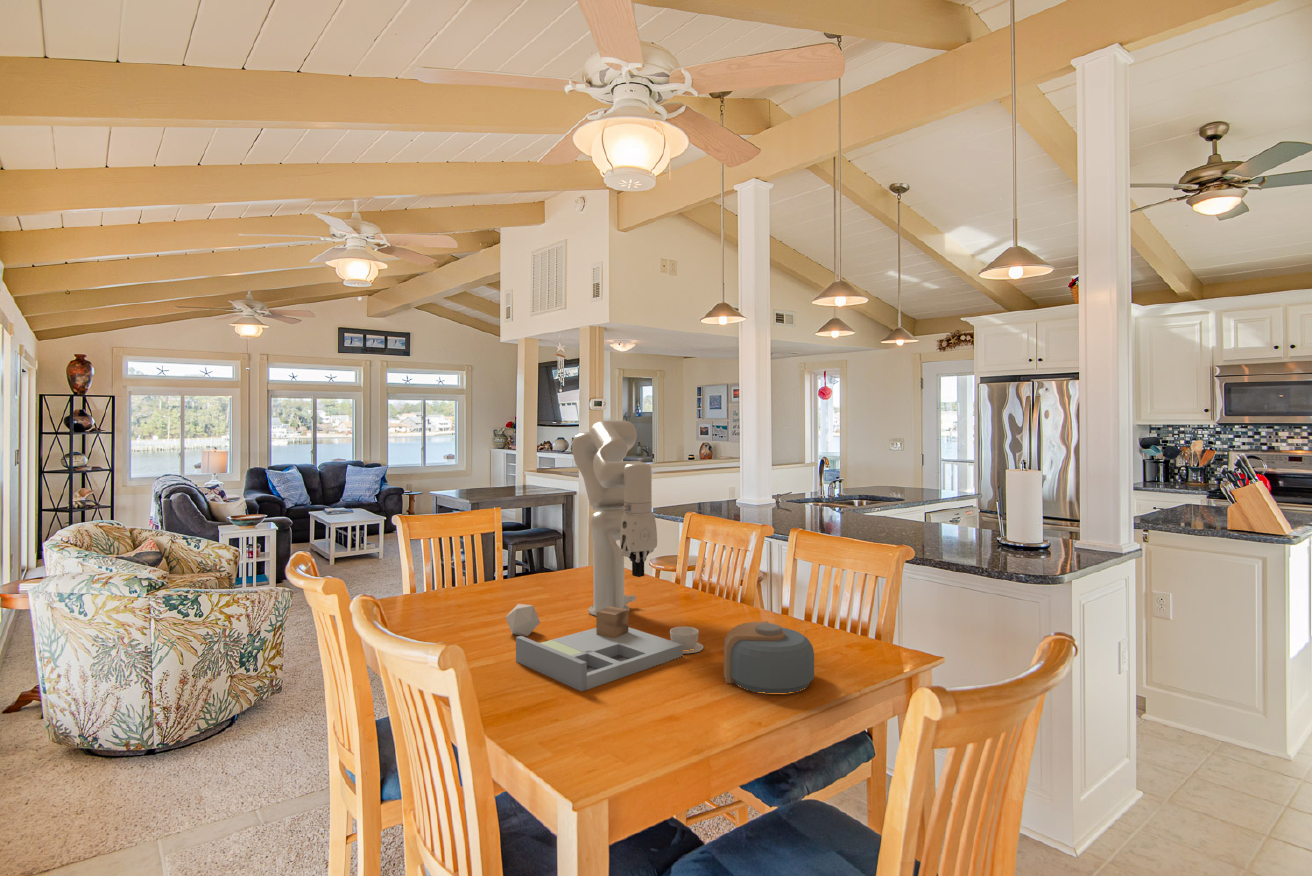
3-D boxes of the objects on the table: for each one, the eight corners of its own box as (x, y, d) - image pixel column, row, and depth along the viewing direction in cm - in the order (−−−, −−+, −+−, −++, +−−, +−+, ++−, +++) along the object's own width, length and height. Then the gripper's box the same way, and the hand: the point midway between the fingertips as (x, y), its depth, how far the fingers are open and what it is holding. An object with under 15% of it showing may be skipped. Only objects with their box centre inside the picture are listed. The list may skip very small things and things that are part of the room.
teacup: (699, 656, 165) (699, 638, 165) (661, 653, 168) (660, 635, 168) (706, 644, 175) (706, 626, 175) (669, 641, 177) (669, 623, 177)
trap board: (614, 633, 184) (614, 611, 184) (682, 656, 165) (682, 632, 165) (515, 661, 162) (515, 637, 162) (581, 691, 143) (581, 663, 143)
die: (545, 633, 186) (535, 602, 191) (537, 626, 178) (528, 594, 183) (517, 645, 185) (508, 613, 190) (509, 638, 178) (499, 605, 182)
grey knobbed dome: (752, 658, 163) (752, 609, 163) (828, 677, 151) (828, 624, 151) (707, 681, 149) (707, 628, 148) (788, 705, 136) (788, 646, 136)
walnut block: (609, 628, 178) (609, 606, 178) (628, 632, 175) (628, 609, 175) (596, 634, 173) (596, 611, 173) (615, 638, 170) (615, 614, 170)
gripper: (626, 512, 173) (626, 582, 173) (667, 507, 183) (667, 573, 183) (607, 509, 178) (608, 578, 178) (648, 505, 188) (648, 569, 189)
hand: (638, 575), depth 181 cm, fingers closed
